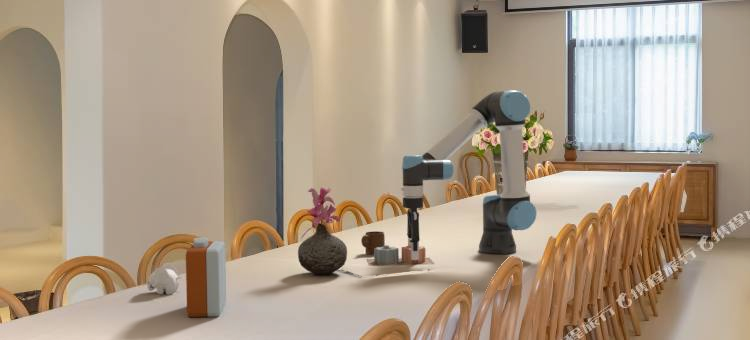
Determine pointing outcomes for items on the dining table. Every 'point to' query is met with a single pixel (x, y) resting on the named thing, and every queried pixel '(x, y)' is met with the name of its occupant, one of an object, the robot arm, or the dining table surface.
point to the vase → (322, 240)
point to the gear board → (372, 263)
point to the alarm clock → (205, 278)
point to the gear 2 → (407, 255)
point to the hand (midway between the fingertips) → (413, 257)
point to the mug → (373, 241)
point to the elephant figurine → (164, 279)
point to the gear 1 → (386, 255)
